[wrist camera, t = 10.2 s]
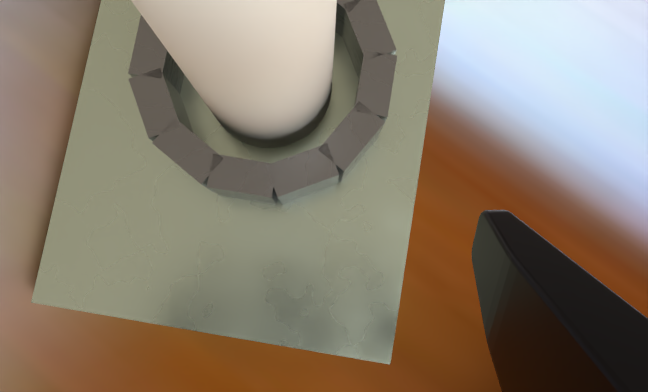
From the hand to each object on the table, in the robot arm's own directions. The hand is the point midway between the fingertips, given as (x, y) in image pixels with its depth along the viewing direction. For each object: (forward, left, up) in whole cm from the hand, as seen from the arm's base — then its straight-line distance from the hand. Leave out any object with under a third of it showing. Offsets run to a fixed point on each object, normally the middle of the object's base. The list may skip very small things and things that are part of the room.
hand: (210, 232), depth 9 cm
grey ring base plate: (+4, +2, -13) cm, 14 cm away
